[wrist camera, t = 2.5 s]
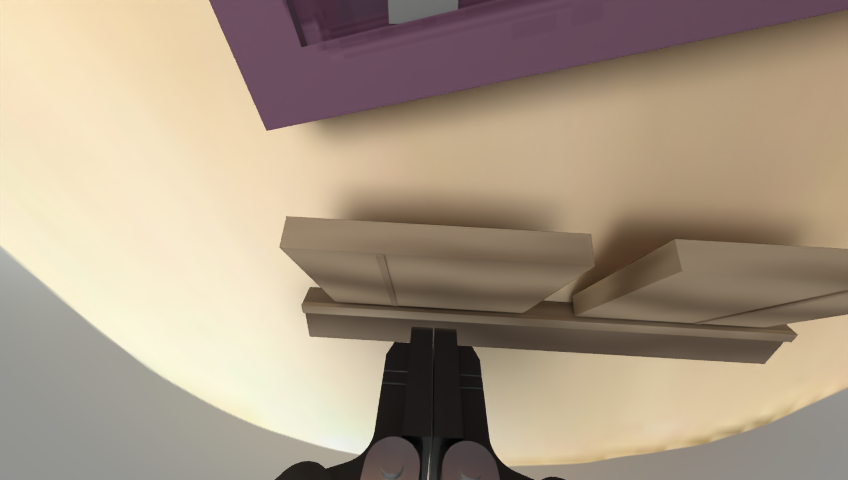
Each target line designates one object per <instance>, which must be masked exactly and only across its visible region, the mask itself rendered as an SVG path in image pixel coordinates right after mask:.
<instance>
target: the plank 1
mask: <svg viewBox="0 0 848 480" xmlns="http://www.w3.org/2000/svg"><path fill="white" fill-rule="evenodd" d="M280 248H281V249H282V250H283V251H284V252H285V253H286V254H287V255H288V256H289V257H290V258H291V259H292V260H293V261H294V262H295V263H296V264H297V265H298V266H299V267H300V268H301V269H302V270H303V271H304V272H305V273H306V274H307V275H308V276H310V277H311V278H312V279H313V280H314V281H315V282H316V283H317V284H318V285H319V286H320V287H321V288H322V289H323V290H324V291H325V292H326V293H327V294H328V295H329V296H330V297H331V298H332V299H333V300H334V301H335V302H347V303H364V304H380V305H392V306H414V307H430V308H447V309H464V310H481V311H497V312H514V313H524V312H526V311H527V310H529V309H530V308H532V307H533V306H535V305H536V304H538V303H539V302H541V301H542V300H544V299H545V298H547V297H548V296H550V295H552V294H553V293H555V292H556V291H558V290H559V289H561V288H562V287H564V286H565V285H567V284H568V283H570V282H571V281H573V280H575V279H576V278H578V277H579V276H581V275H582V274H584V273H585V272H587V271H588V270H590V269H591V268H593V267H594V266H595V260H594V252H593V245H592V237H591V234H581V233H563V232H546V231H529V230H512V229H495V228H477V227H460V226H443V225H426V224H409V223H391V222H374V221H357V220H340V219H322V218H305V217H288V216H286V221H285V225H284V229H283V234H282V238H281V243H280Z"/></svg>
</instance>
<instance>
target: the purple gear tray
mask: <svg viewBox="0 0 848 480" xmlns="http://www.w3.org/2000/svg"><path fill="white" fill-rule="evenodd" d="M209 1H210V3H211V6H212V8H213V10H214V13H215V15H216V17H217V19H218V22H219V24H220V26H221V28H222V31H223V33H224V35H225V37H226V40H227V42H228V44H229V47H230V49H231V51H232V53H233V56H234V58H235V60H236V62H237V65H238V67H239V69H240V71H241V74H242V76H243V78H244V81H245V83H246V85H247V87H248V90H249V92H250V94H251V96H252V99H253V101H254V103H255V105H256V108H257V110H258V112H259V115H260V117H261V119H262V121H263V124H264V126H265V128H266V130H267V131H268V130H273V129H278V128H282V127H287V126H292V125H297V124H302V123H306V122H311V121H316V120H321V119H326V118H330V117H335V116H340V115H345V114H349V113H354V112H359V111H364V110H369V109H373V108H378V107H383V106H388V105H393V104H397V103H402V102H407V101H412V100H416V99H421V98H426V97H431V96H436V95H440V94H445V93H450V92H455V91H460V90H464V89H469V88H474V87H479V86H483V85H488V84H493V83H498V82H503V81H507V80H512V79H517V78H522V77H527V76H531V75H536V74H541V73H546V72H550V71H555V70H560V69H565V68H570V67H574V66H579V65H584V64H589V63H594V62H598V61H603V60H608V59H613V58H617V57H622V56H627V55H632V54H637V53H641V52H646V51H651V50H656V49H661V48H665V47H670V46H675V45H680V44H684V43H689V42H694V41H699V40H704V39H708V38H713V37H718V36H723V35H728V34H732V33H737V32H742V31H747V30H751V29H756V28H761V27H766V26H771V25H775V24H780V23H785V22H790V21H795V20H799V19H804V18H809V17H814V16H819V15H823V14H828V13H833V12H838V11H842V10H847V9H848V0H209Z"/></svg>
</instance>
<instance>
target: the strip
mask: <svg viewBox="0 0 848 480" xmlns="http://www.w3.org/2000/svg"><path fill="white" fill-rule="evenodd" d="M302 310H303V313H305V314H306V319H307V324H308V329H309V335H310V336H311V337H328V338H344V339H361V340H377V341H394V342H410V339H411V328H412V327H429V328H433V340H434V329H435V328H449V329H456V330H457V345H460V346H476V347H493V348H509V349H526V350H543V351H559V352H576V353H592V354H609V355H625V356H642V357H658V358H675V359H691V360H708V361H724V362H741V363H757V364H765V363H766V361H767V360H768V359H769V358H770V357H771V356H772V355H773V354H774V352H775V351H776V350H777V349H778V348H779V347H780V346H781V345H782V343H783V342H792V341H793V340H794V339H795V338H796V336H797V334H796V333H795V332H794V331H793V330H792V329H791V328H790V327H788V326H787V325H786V324H782V325H776V326H770V327H748V326H732V325H715V324H695V323H681V322H665V321H648V320H631V319H615V318H598V317H581V316H574V306H573V303H564V302H547V301H541V302H539V303H538V304H536V305H535V306H533V307H532V308H530V309H529V310H527V311H526V312H524V313H514V312H497V311H481V310H464V309H447V308H430V307H414V306H392V305H380V304H364V303H347V302H335V301H334V300H333V299H332V298H331V297H330V296H329V295H328V294H327V293H326V292H325V291H324V290H323V289H322V288H312V287H310V288H309V290H308V293H307V295H306V297H305V299H304V301H303V303H302Z"/></svg>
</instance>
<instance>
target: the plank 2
mask: <svg viewBox="0 0 848 480" xmlns="http://www.w3.org/2000/svg"><path fill="white" fill-rule="evenodd" d="M572 297H573V306H574V316H581V317H598V318H615V319H631V320H648V321H665V322H681V323H695V324H715V325H732V326H748V327H770V326H776V325H782V324H789V323H795V322H801V321H808V320H814V319H821V318H827V317H833V316H840V315H846V314H848V249H839V248H821V247H804V246H787V245H770V244H753V243H735V242H718V241H701V240H684V239H674V240H672V241H670V242H668V243H667V244H665V245H663V246H661V247H659V248H658V249H656V250H654V251H652V252H650V253H649V254H647V255H645V256H643V257H641V258H640V259H638V260H636V261H634V262H632V263H631V264H629V265H627V266H625V267H623V268H622V269H620V270H618V271H616V272H614V273H613V274H611V275H609V276H607V277H605V278H604V279H602V280H600V281H598V282H596V283H595V284H593V285H591V286H589V287H587V288H586V289H584V290H582V291H580V292H578V293H577V294H575V295H573V296H572Z"/></svg>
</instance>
